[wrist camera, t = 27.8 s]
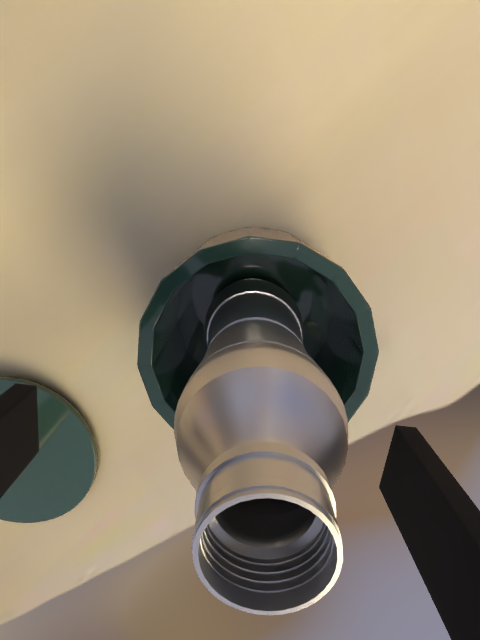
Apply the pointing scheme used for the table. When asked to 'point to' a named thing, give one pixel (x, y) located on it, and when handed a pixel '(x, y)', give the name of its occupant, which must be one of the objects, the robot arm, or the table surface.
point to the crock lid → (52, 461)
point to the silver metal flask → (262, 455)
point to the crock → (273, 266)
